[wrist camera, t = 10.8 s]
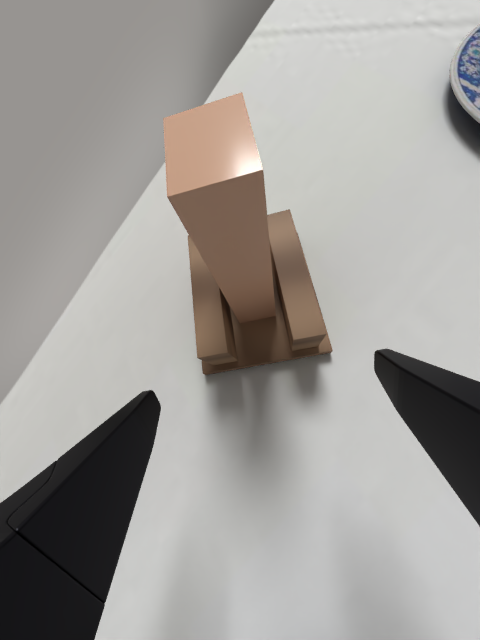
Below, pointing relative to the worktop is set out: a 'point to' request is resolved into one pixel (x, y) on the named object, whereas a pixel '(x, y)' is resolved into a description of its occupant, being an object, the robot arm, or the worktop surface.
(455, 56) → the ceramic plate
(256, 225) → the clay block
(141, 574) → the worktop surface
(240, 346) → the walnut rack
